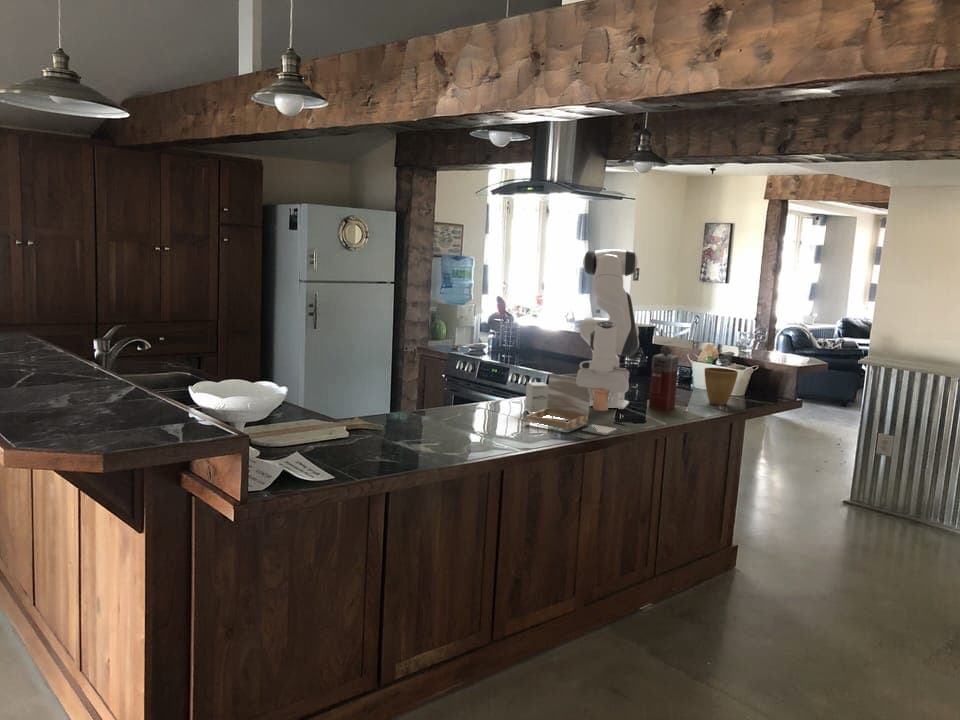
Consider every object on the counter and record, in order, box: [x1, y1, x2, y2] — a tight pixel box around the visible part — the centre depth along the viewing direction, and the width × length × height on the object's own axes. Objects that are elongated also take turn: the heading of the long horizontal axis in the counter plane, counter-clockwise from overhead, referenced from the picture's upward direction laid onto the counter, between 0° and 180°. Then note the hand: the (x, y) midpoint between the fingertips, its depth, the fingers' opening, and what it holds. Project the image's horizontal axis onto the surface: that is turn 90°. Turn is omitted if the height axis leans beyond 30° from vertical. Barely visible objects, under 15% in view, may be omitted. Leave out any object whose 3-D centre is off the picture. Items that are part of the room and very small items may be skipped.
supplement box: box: [524, 381, 549, 412], centre depth 322 cm, size 7×7×13 cm
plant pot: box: [704, 367, 739, 406], centre depth 359 cm, size 15×15×16 cm
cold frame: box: [525, 373, 590, 429], centre depth 303 cm, size 19×18×18 cm
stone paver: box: [590, 424, 617, 433], centre depth 297 cm, size 10×10×1 cm
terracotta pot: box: [592, 388, 610, 412], centre depth 295 cm, size 6×6×8 cm
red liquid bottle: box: [648, 344, 679, 411], centre depth 344 cm, size 9×11×28 cm
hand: (601, 401), depth 295 cm, fingers closed on terracotta pot, 6 cm apart
